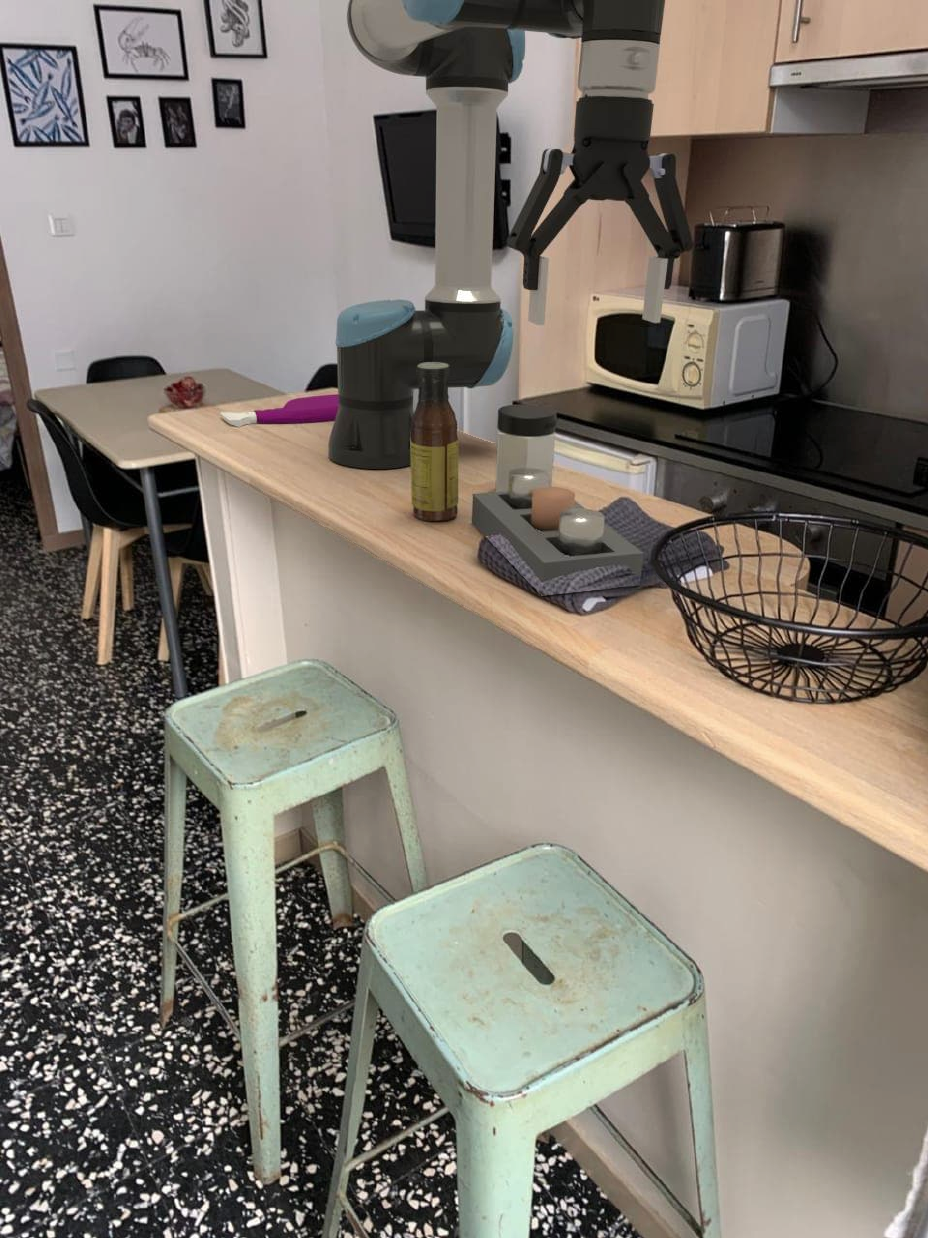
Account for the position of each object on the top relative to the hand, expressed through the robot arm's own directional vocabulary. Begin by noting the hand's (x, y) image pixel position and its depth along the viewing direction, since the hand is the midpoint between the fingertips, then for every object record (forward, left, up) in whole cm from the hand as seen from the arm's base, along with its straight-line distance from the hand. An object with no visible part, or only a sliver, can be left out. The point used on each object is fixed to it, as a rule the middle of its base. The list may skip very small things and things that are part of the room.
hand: (594, 322), depth 100 cm
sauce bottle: (-19, -12, -28) cm, 35 cm away
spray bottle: (-76, -22, -28) cm, 84 cm away
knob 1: (-11, -2, -24) cm, 26 cm away
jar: (-25, +3, -28) cm, 37 cm away
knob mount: (-3, -2, -27) cm, 28 cm away
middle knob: (-3, -2, -24) cm, 24 cm away
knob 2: (+5, -2, -24) cm, 25 cm away
